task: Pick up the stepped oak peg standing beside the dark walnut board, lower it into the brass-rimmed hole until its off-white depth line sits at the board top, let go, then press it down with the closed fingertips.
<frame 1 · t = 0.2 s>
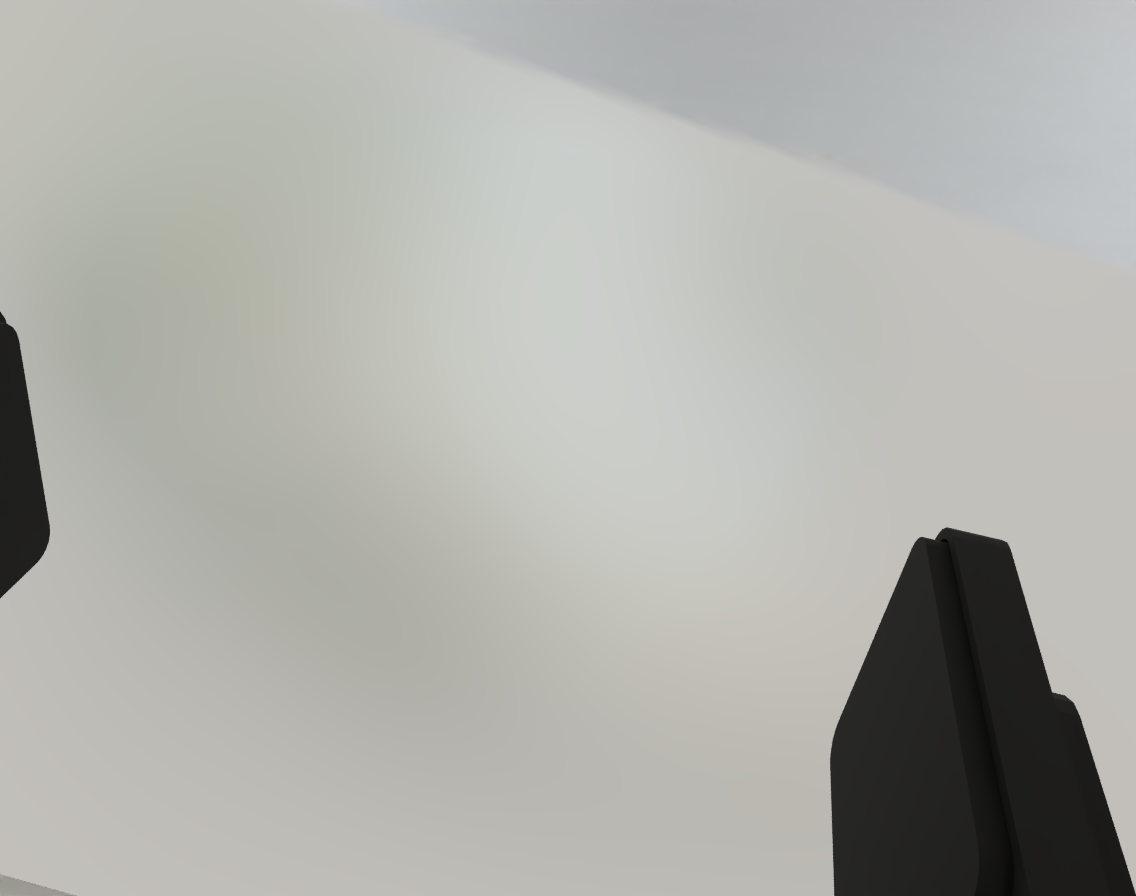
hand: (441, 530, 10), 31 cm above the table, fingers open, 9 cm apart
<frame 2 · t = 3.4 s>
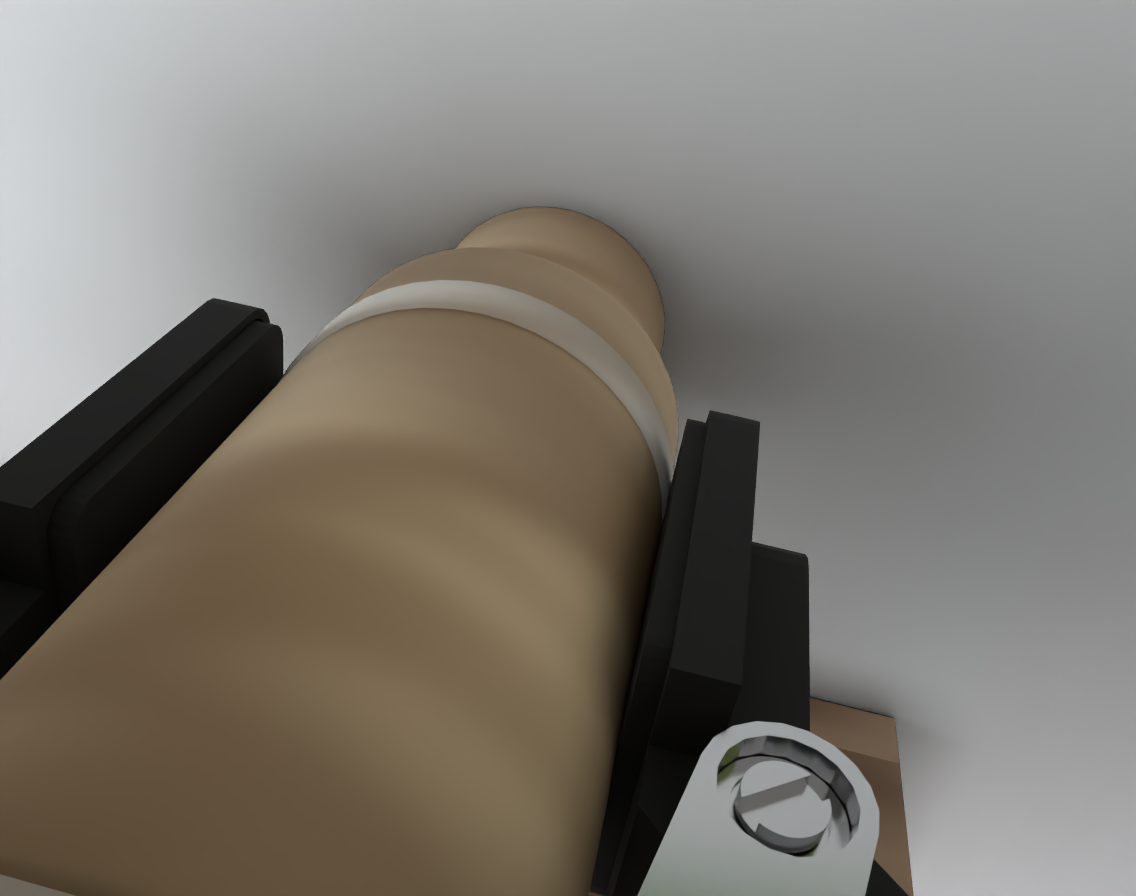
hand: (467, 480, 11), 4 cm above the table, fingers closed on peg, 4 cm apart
board: (337, 779, 21), on the table
peg: (549, 319, 15), on the table, touching gripper
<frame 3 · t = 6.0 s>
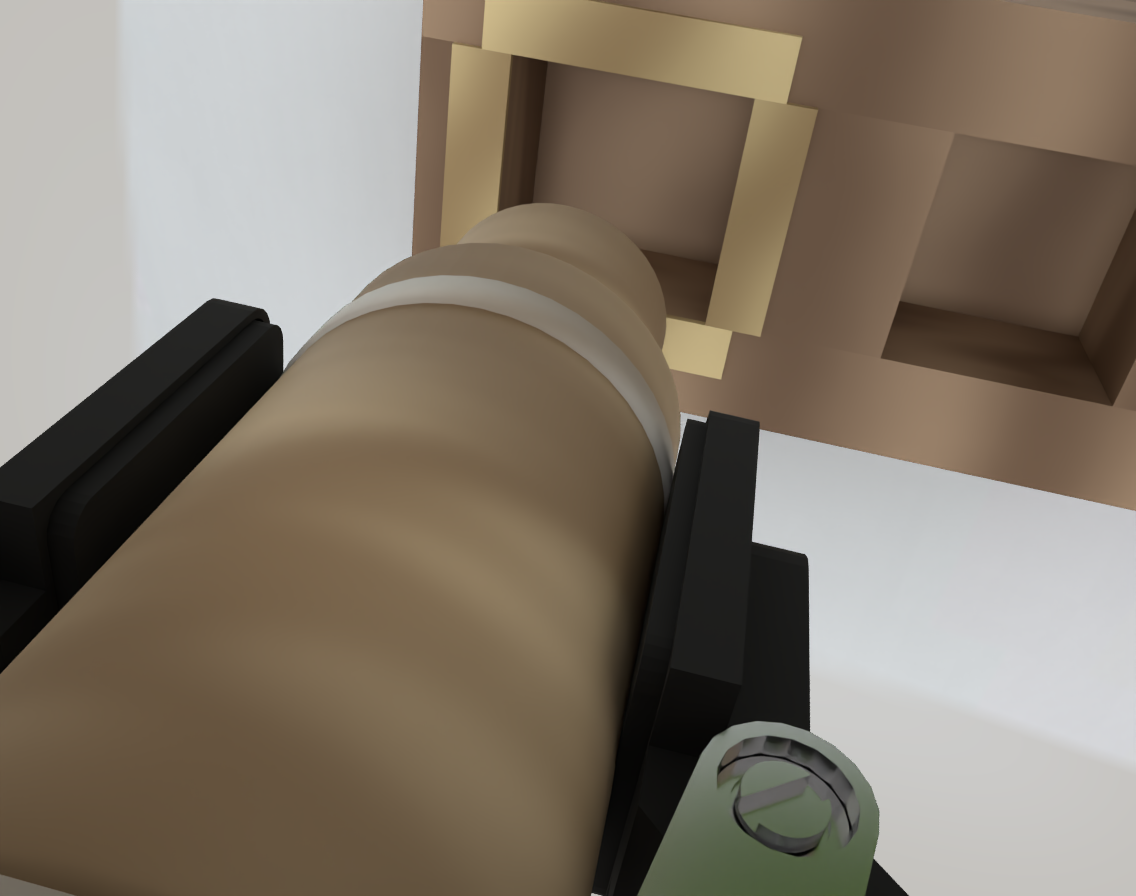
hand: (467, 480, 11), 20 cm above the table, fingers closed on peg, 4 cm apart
board: (821, 173, 28), on the table
peg: (550, 316, 15), point 15 cm above the table, touching gripper
when the fingers open (6 cm above the table, at t = 8.7 s): peg stays where it is, resting on board.
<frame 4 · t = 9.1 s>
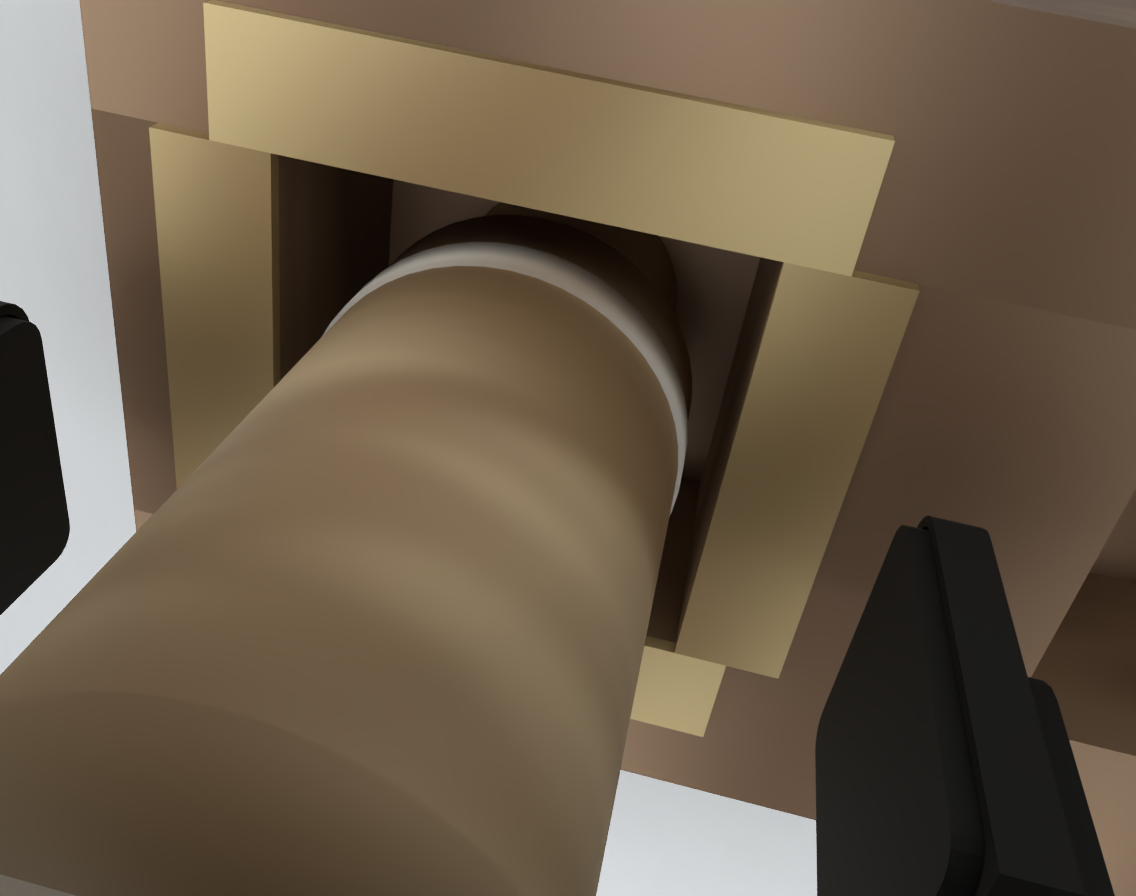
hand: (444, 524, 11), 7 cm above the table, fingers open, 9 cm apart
board: (879, 337, 16), on the table
peg: (567, 292, 16), point 1 cm above the table, touching board
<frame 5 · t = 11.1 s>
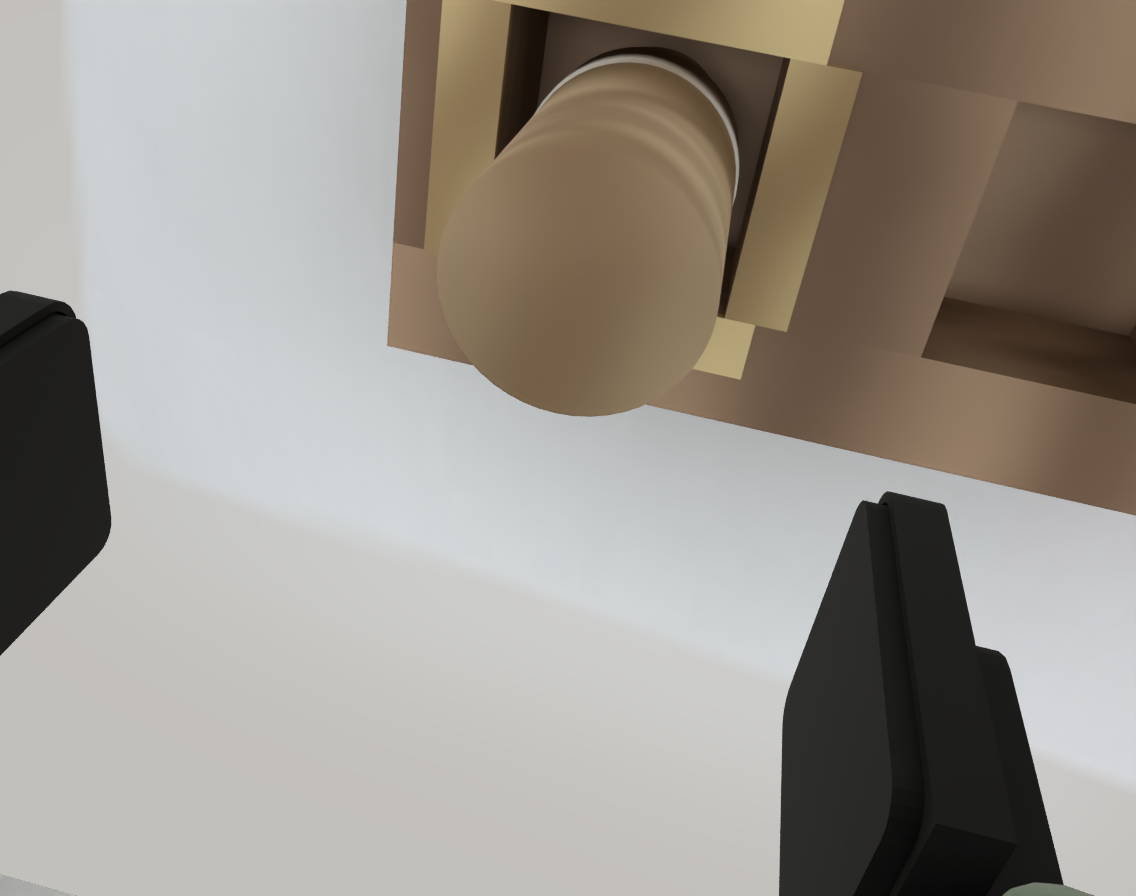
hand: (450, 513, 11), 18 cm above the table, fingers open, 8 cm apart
board: (849, 151, 25), on the table
peg: (652, 120, 25), point 1 cm above the table, touching board
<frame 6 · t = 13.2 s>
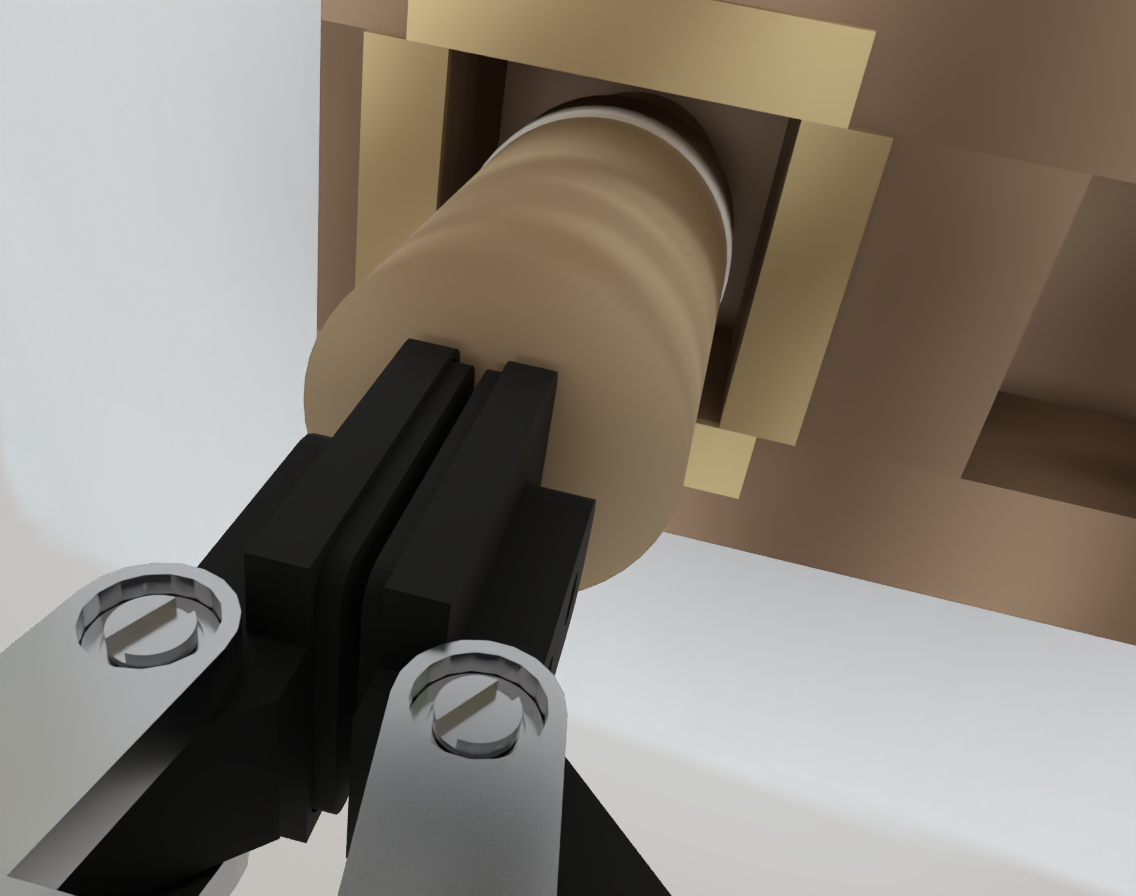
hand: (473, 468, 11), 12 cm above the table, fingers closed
board: (871, 215, 21), on the table
peg: (633, 178, 21), point 1 cm above the table, touching board, gripper
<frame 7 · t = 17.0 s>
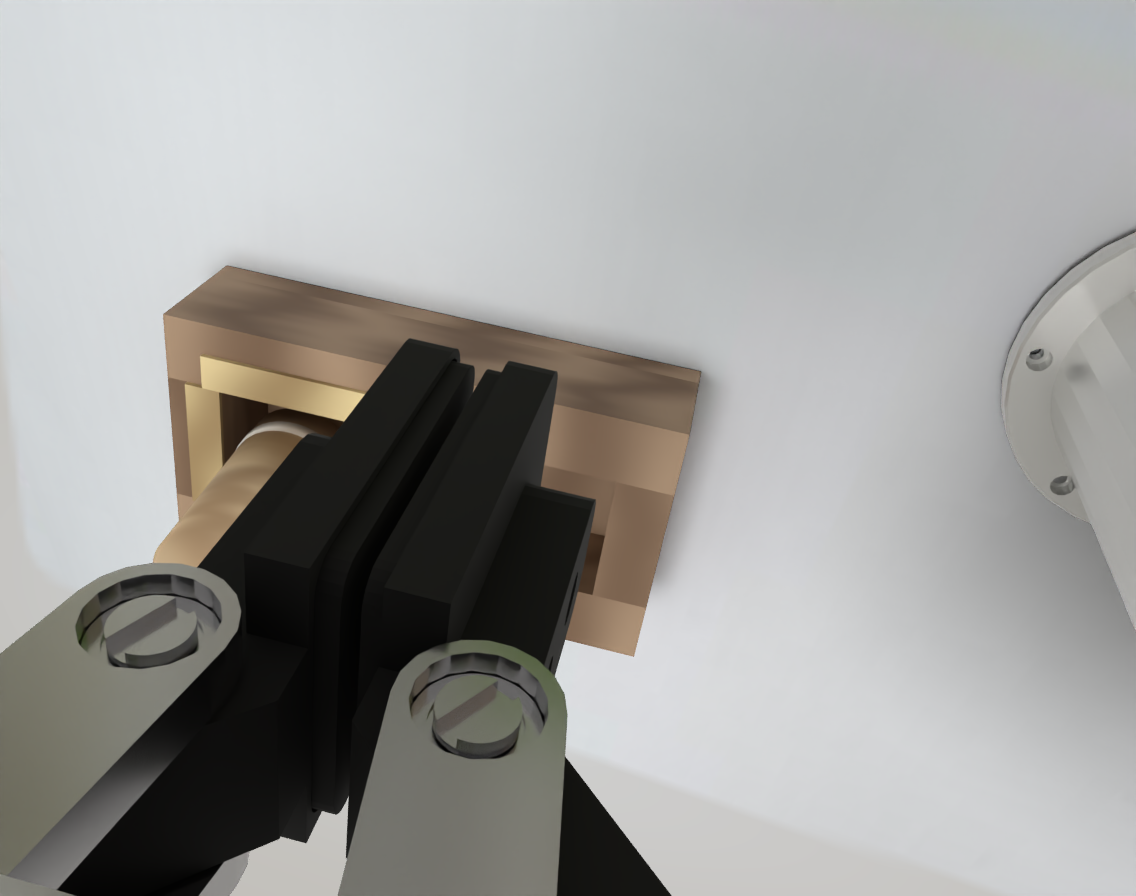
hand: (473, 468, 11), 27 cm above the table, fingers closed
board: (447, 431, 44), on the table
peg: (330, 416, 44), point 1 cm above the table, touching board
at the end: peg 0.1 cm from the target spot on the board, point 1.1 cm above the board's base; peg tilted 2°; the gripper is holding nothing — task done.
